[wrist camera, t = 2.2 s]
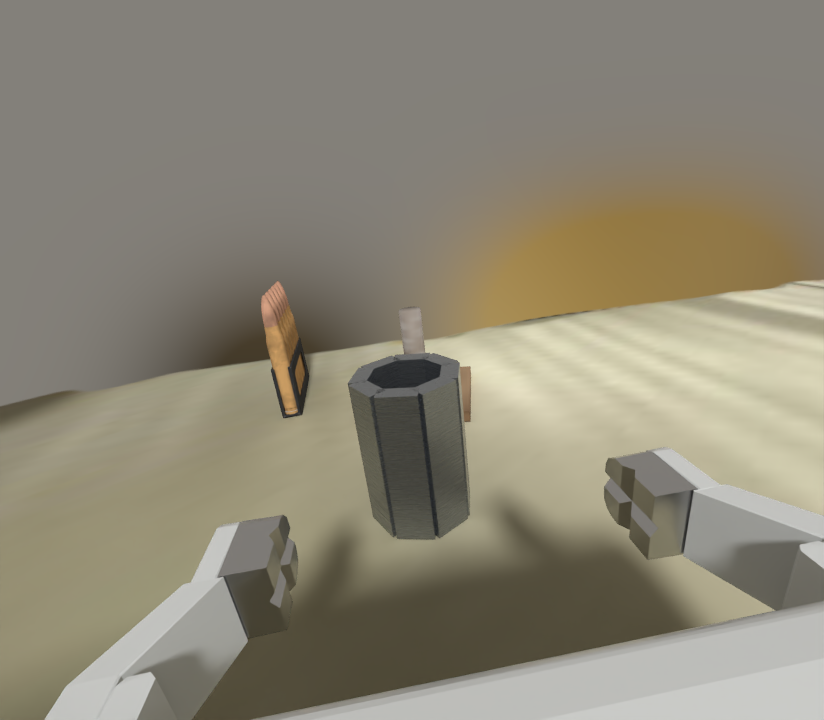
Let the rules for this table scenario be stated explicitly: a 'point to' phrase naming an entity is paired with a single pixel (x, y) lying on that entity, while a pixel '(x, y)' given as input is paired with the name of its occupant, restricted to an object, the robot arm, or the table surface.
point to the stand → (415, 345)
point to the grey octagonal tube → (413, 443)
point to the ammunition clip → (284, 352)
